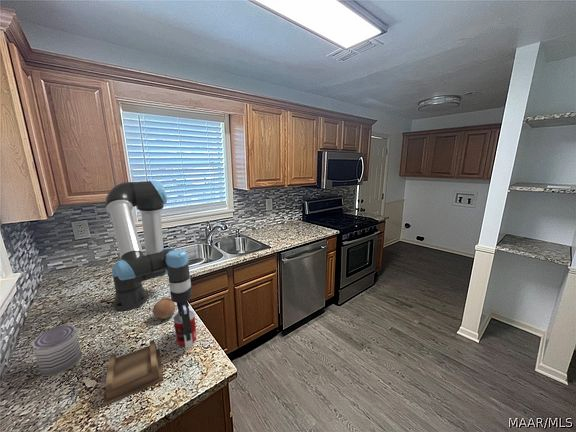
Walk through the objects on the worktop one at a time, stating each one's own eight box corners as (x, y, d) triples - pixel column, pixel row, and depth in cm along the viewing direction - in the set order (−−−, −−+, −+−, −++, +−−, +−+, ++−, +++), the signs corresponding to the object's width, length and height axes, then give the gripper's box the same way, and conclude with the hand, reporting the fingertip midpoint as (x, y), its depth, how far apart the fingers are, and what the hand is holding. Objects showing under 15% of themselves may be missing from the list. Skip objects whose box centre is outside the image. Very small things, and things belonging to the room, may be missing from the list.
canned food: (190, 330, 101) (188, 308, 99) (200, 338, 96) (198, 315, 94) (173, 340, 96) (170, 316, 93) (182, 349, 91) (179, 325, 88)
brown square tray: (108, 368, 82) (105, 354, 81) (159, 349, 91) (157, 336, 89) (103, 406, 69) (99, 390, 68) (163, 380, 77) (161, 365, 76)
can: (87, 347, 92) (81, 321, 90) (74, 370, 82) (67, 340, 80) (50, 356, 88) (42, 329, 86) (31, 381, 78) (22, 350, 76)
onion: (169, 317, 115) (173, 296, 118) (175, 321, 108) (179, 298, 111) (148, 318, 109) (153, 296, 112) (153, 322, 102) (158, 298, 105)
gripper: (167, 280, 99) (173, 326, 103) (174, 305, 80) (181, 360, 84) (186, 275, 103) (191, 320, 107) (196, 299, 84) (202, 351, 88)
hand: (186, 337), depth 96 cm, fingers open, 10 cm apart
